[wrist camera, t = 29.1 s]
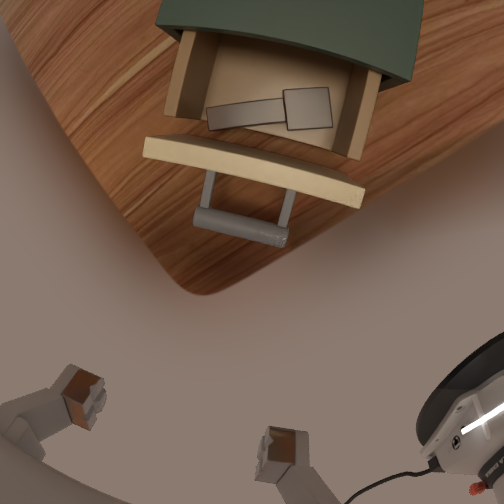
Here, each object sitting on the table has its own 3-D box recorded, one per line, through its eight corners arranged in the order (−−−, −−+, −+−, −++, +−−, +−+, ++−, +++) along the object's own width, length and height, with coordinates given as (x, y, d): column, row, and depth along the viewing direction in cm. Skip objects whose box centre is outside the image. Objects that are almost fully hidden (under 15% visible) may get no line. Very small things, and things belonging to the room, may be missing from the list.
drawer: (323, 238, 24) (336, 277, 18) (170, 200, 24) (133, 226, 18) (376, 37, 18) (408, 9, 11) (216, 1, 18) (193, -38, 11)
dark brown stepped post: (216, 139, 21) (209, 140, 19) (210, 101, 20) (204, 99, 18) (329, 128, 20) (334, 127, 18) (325, 89, 19) (329, 85, 17)
